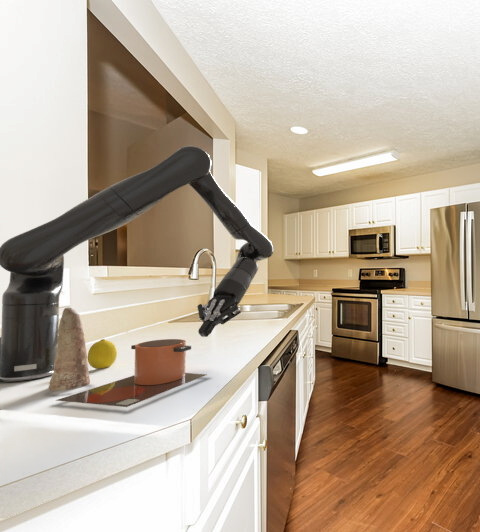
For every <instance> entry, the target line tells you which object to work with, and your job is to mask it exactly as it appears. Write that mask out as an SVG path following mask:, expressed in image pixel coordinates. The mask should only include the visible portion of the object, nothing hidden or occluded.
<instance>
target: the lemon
mask: <svg viewBox="0 0 480 532" xmlns="http://www.w3.org/2000/svg"><path fill="white" fill-rule="evenodd" d="M117 355H118V351H117V347H116V345H115V344H114V343H113V342H112V341H109V340H107V339H105V338H102V339H100V340H99V341H96V342H94V344H92V345H91V346H90V348H89V349H88V352H87V363H88V365H89V366H90V367H91V368H93V369H96V370H99V369H106V368H109V367H111V366H112V365H113V364H114V363H115V361H116V359H117Z"/></svg>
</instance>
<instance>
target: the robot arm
mask: <svg viewBox="0 0 480 532" xmlns="http://www.w3.org/2000/svg"><path fill="white" fill-rule="evenodd" d="M211 168H212V159H211V157H210V155H209V154H208V152H206V151H205V150H204V149H202V148H200V147H199V146H195V145H184V146H181V147H179V148H178V149H176V150H175V151H174V152H173V153H172V154H170V155H169V156H168V157H166V158H165V159H163V160H162V161H161V162H159V163H158V164H156V165H154V166H153V167H151V168H148V169H147V170H144V171H142V172H138V173H136V174H134V175H131V176H129V177H127V178H124V179H122V180H120V181H118V182H116V183H114V184H112V185H110V186H108V187H106V188H105V189H102V190H100V191H98V193H95V194H93V195H92V196H91V197H89V198H87V199H86V200H83V201H82V202H80V203H78V204H77V205H75V206H73V207H72V208H70V209H68V210H67V211H65V212H64V213H62V214H61V215H59V216H58V217H55V218H54V219H52V220H50V221H47V222H45V223H43V224H41V225H38V226H36V227H34V228H31V229H29V230H27V231H24V232H22V233H19V234H18V235H15V236H13V237H11V238H9V239H7V240H5V241H4V242H3V243H2V244H1V246H0V268H2V269H4V271H7V272H10V274H9V284H8V286H7V288H6V289H5V290H4V291H3V293H2V297H1V328H0V329H1V331H0V332H1V333H0V382H3V383H10V382H11V383H13V382H22V381H23V382H24V381H31V380H36V379H42V378H46V377H49V376H50V377H51V376H52V375H53V371H54V361H55V357H56V349H57V346H58V342H57V338H58V329H59V324H60V320H59V319H60V315H59V314H60V296H61V292H62V289H63V285H64V283H63V282H64V269H65V268H64V267H65V257H64V256H65V254H67V253H68V252H71V251H72V250H73V249H74V248H76V247H78V246H79V245H81V244H83V243H84V242H86V241H90V240H91V239H94V238H97V237H99V236H103V235H105V234H107V233H110V232H112V231H114V230H117V229H119V228H121V227H123V226H125V225H128V223H130V222H132V221H134V220H135V219H137V218H139V217H140V216H142V215H144V214H145V213H146V212H148V211H149V210H150V209H152V208H153V207H155V206H156V205H157V204H159V203H160V202H161V201H162V200H164V199H165V198H167V196H169V195H170V194H172V193H173V192H175V191H177V190H179V189H180V188H183V187H185V186H187V185H189V186H190V187H191V188H192V189H193V190H194V191H195V193H197V194H198V195H199V196H200V198H201V199H202V200H203V201H204V202H205V203H206V205H207V206H208V207H209V209H210V210H211V211H212V212H213V214H214V215H215V216H216V218H217V219H218V220H219V222H220V223H221V224H222V226H224V229H226V231H227V232H228V233H229V235H230V236H231V238H233V239H234V240H235V241H236V240H237V241H242V240H243V241H245V243H244V244H243V245H242V246H240V248H239V250H238V252H237V256H236V259H235V261H234V263H233V264H232V266H231V267H230V269H229V270H228V271H227V273H225V274H224V276H223V278H222V279H221V280H220V282H219V283H218V284H217V286H216V288H215V289H214V291H213V296H212V298H210V299H209V300H208V301H207V303H205V304H202V303H199V304H197V306H196V307H197V312H198V317H199V319H200V320H201V321H202V324H201V325H200V326H199V328H198V330H197V332H198V334H199V336H201V337H203V338H208V337H209V336H210V335H211V334H212V332H213V330H214V329H215V328H216V327H217V326H218V325H219V324H220V325H224V324H226V323H227V322H229V321H231V320H232V319H234V318H236V317H237V316H238V315H240V314H241V313H242V310H241V308H240V307H239V306H238V305H240V303H241V301H242V300H243V298H244V296H245V294H246V293H247V291H248V290H249V288H250V286H251V283H252V281H253V280H254V278H255V276H256V275H257V273H258V271H259V265H258V262H260V261H264V260H266V259H269V258H271V257H272V256H273V255H274V246H273V243H272V241H271V240H270V239H269V238H268V237H267V236H266V235H264V233H262V231H260V230H259V229H258V228H257V227H255V226H253V224H251V222H250V221H249V219H248V218H247V216H246V214H245V213H244V212H243V211H242V209H240V208H239V206H238V205H237V204H236V203H235V202H234V201H233V200H232V199H231V198H230V197H229V196H228V195H227V193H225V191H224V190H223V189H222V188H221V186H220V185H219V184H218V182H217V181H216V180H215V177H214V176H213V174H212V173H211Z"/></svg>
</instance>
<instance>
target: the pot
mask: <svg viewBox="0 0 480 532" xmlns="http://www.w3.org/2000/svg"><path fill="white" fill-rule="evenodd" d="M130 349H131V350H134V375H133V376H134V383H135V384H138V385H158V384H164V383H169V382H173V381H177V380H179V379H181V378H183V377H184V376H185V373H186V356H187V355H186V354H187V353H186V352H187V351H191V350H192V345H187V341H186V340H185V339H181V338H165V339H155V340H154V339H153V340H148V341H143V342H139V343H137V344H132V345H131V347H130Z"/></svg>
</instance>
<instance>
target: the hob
mask: <svg viewBox="0 0 480 532" xmlns="http://www.w3.org/2000/svg"><path fill="white" fill-rule="evenodd" d="M206 376H208V374H207V373H206V374H204V373H190V372H189V373H188V372H185V376H184V377H183V378H181V379H179V380H177V381H173V382H169V383H164V384H158V385H138V384H135V383H134V375H131V376H128V377H125V378H122V379H119V380H115V381H112V382H109V383H106V384H103V385H100V386H96V387H93V388H90V389H87V390H84V391H80V392H77V393H74V394H71V395H67V396H64V397H62V398H58V399H55V402H56V401H57V402H67V403H69V402H70V403H79V404H87V405H88V404H90V405H100V406H112V407H121V408H122V407H123V408H128V407H130V406H133V405H136V404H138V403H140V402H143V401H146V400H148V399H150V398H153V397H155V396H157V395H161V394H163V393H165V392H168V391H170V390H172V389H175V388H178V387H180V386H182V385H183V386H184V385H185V384H188V383H191V382H193V381H195V380H198V379H200V378H203V377H206Z"/></svg>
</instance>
